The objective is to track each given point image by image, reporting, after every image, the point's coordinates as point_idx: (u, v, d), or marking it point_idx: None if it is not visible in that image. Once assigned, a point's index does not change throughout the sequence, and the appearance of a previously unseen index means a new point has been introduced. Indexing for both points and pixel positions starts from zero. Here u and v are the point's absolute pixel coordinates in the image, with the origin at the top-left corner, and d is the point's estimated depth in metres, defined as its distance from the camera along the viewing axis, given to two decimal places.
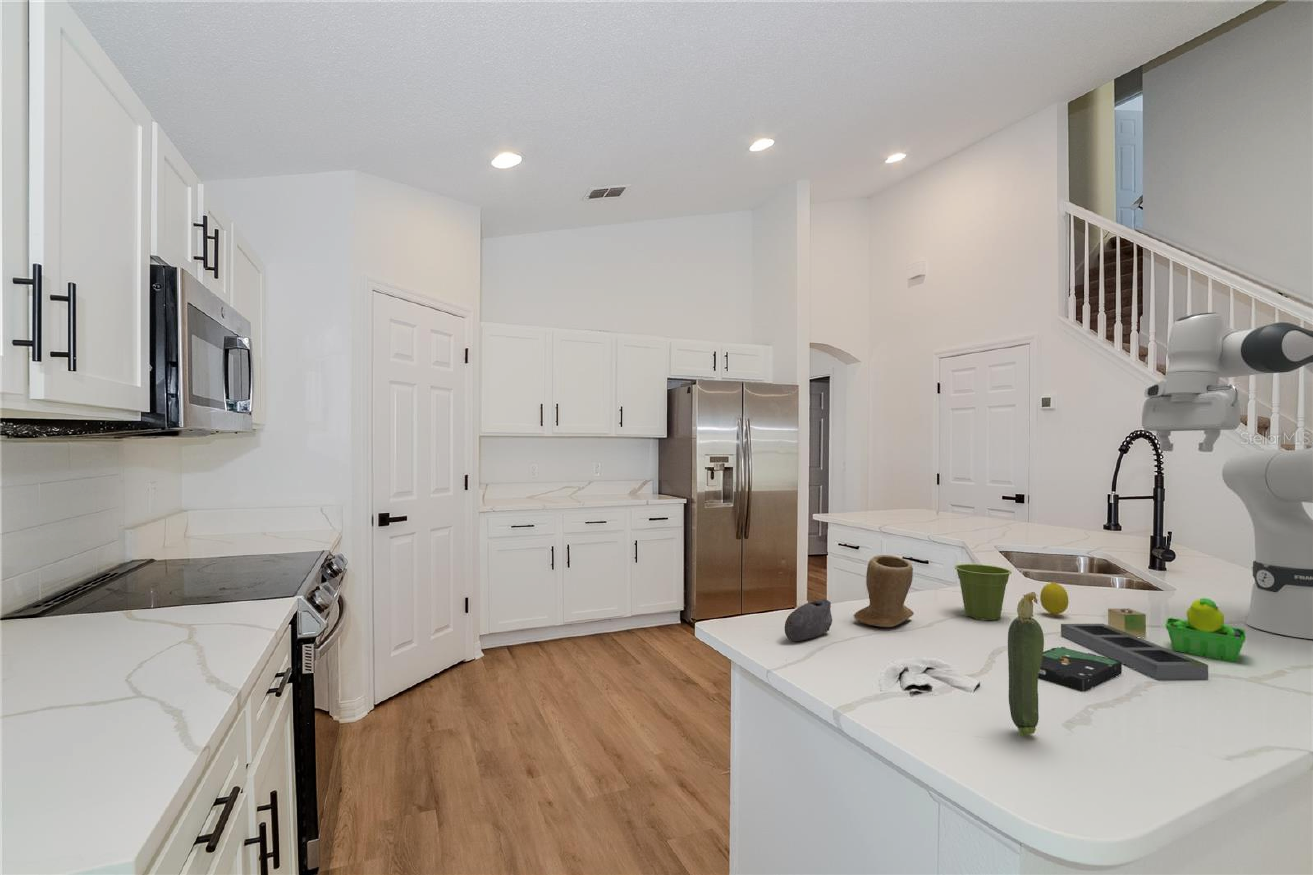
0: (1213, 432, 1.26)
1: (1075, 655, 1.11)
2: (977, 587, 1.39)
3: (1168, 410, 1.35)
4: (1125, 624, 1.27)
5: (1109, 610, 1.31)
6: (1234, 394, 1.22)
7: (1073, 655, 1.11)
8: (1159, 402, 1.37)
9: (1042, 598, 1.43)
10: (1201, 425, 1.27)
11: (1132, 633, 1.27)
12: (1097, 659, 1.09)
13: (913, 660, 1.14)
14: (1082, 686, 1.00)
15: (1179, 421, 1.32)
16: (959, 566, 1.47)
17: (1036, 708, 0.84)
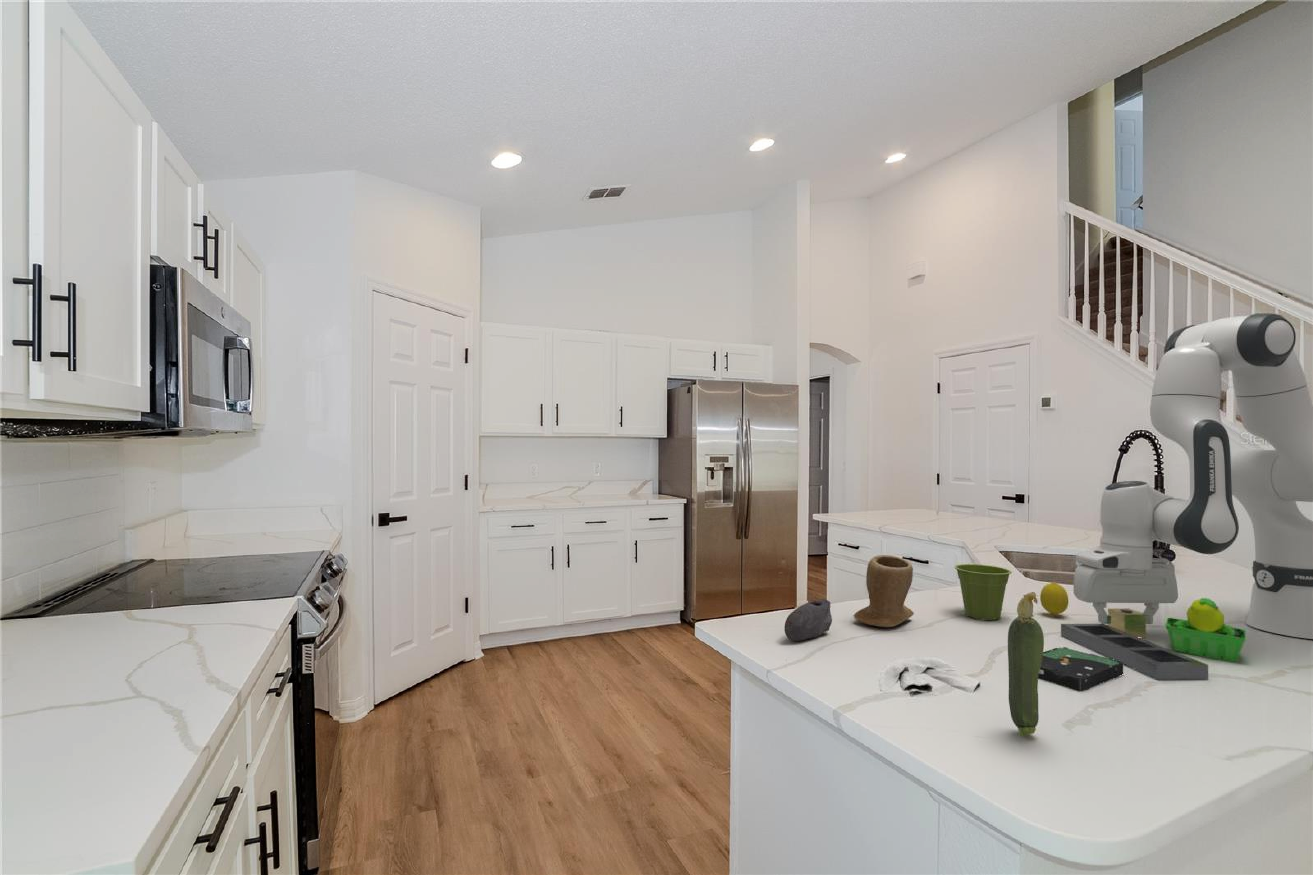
0: None
1: (1076, 656, 1.11)
2: (977, 587, 1.39)
3: (1116, 583, 1.28)
4: (1125, 624, 1.27)
5: (1109, 610, 1.31)
6: (1173, 569, 1.29)
7: (1074, 655, 1.11)
8: (1110, 574, 1.27)
9: (1042, 598, 1.43)
10: (1156, 600, 1.28)
11: (1132, 633, 1.27)
12: (1098, 660, 1.09)
13: (913, 660, 1.14)
14: (1079, 686, 1.00)
15: (1132, 595, 1.28)
16: (959, 566, 1.47)
17: (1036, 708, 0.84)
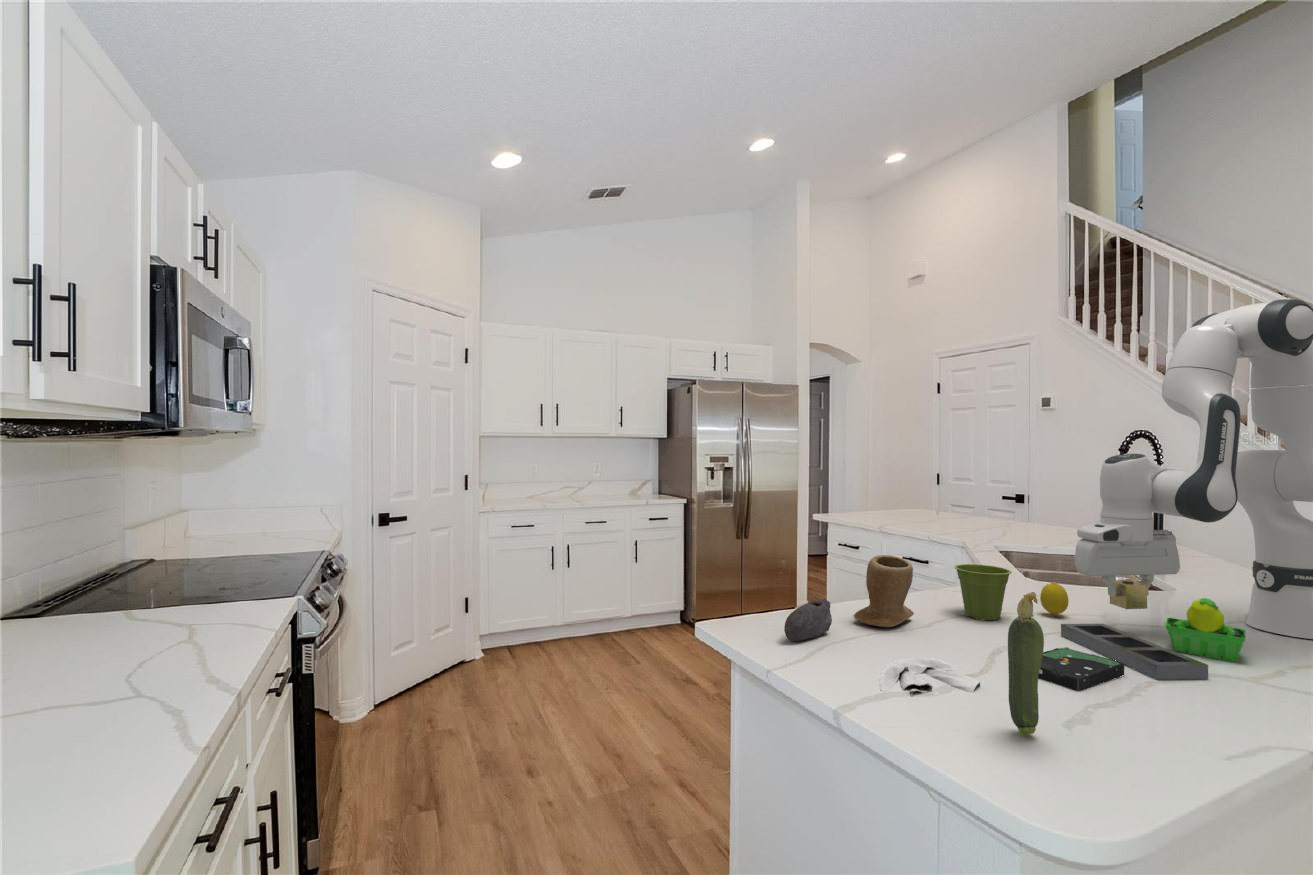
0: None
1: (1077, 656, 1.10)
2: (977, 587, 1.39)
3: (1117, 556, 1.28)
4: (1126, 595, 1.28)
5: None
6: (1175, 540, 1.30)
7: (1075, 656, 1.11)
8: (1111, 547, 1.27)
9: (1042, 598, 1.43)
10: (1158, 572, 1.28)
11: (1133, 604, 1.28)
12: (1099, 660, 1.08)
13: (913, 660, 1.14)
14: (1077, 685, 1.00)
15: (1134, 567, 1.28)
16: (959, 566, 1.47)
17: (1036, 708, 0.84)
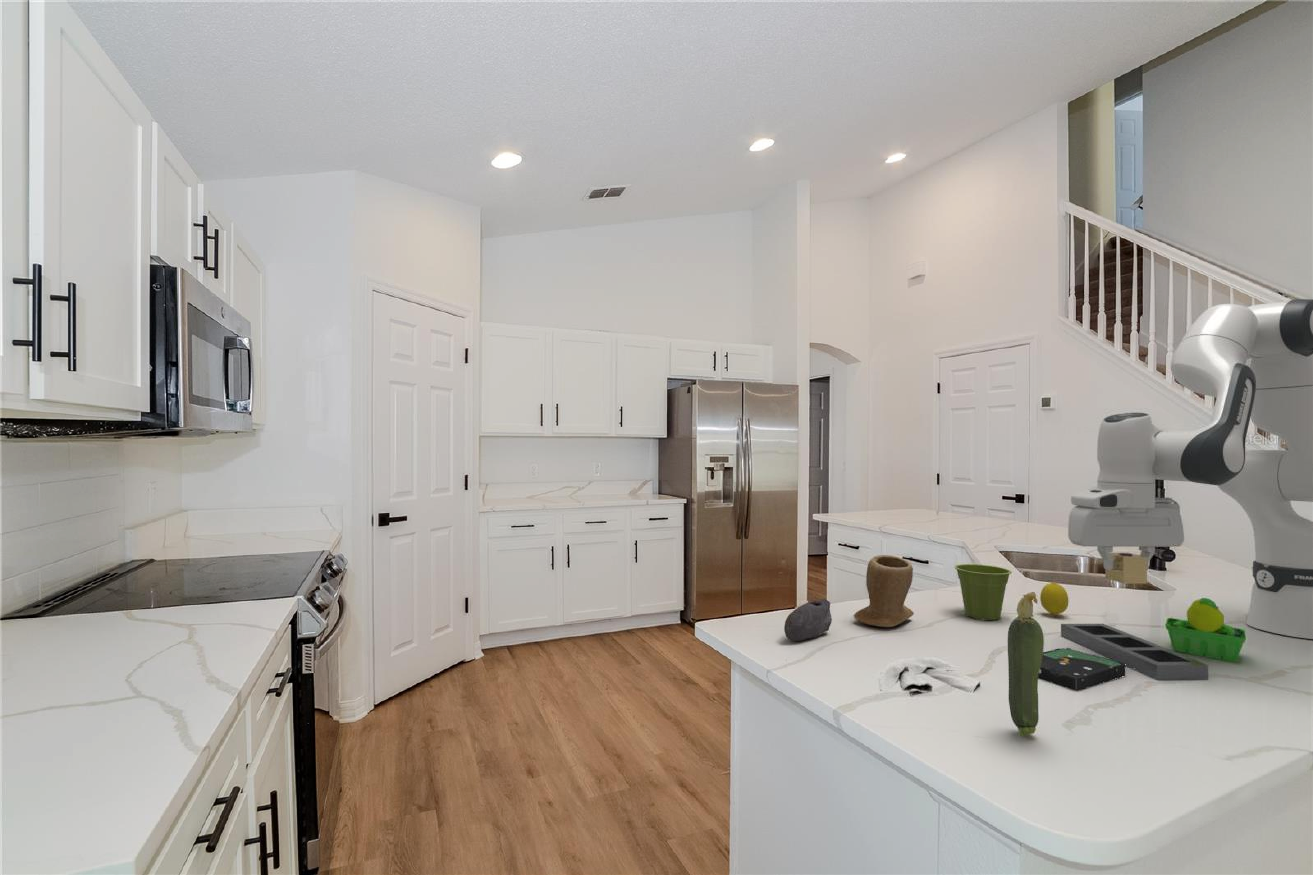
0: None
1: (1078, 656, 1.10)
2: (977, 587, 1.39)
3: (1115, 524, 1.15)
4: (1124, 567, 1.15)
5: None
6: (1179, 509, 1.17)
7: (1075, 656, 1.10)
8: (1108, 514, 1.15)
9: (1042, 598, 1.43)
10: (1160, 543, 1.15)
11: (1132, 577, 1.15)
12: (1100, 660, 1.08)
13: (913, 660, 1.14)
14: (1075, 685, 1.00)
15: (1133, 538, 1.15)
16: (959, 566, 1.47)
17: (1036, 707, 0.84)
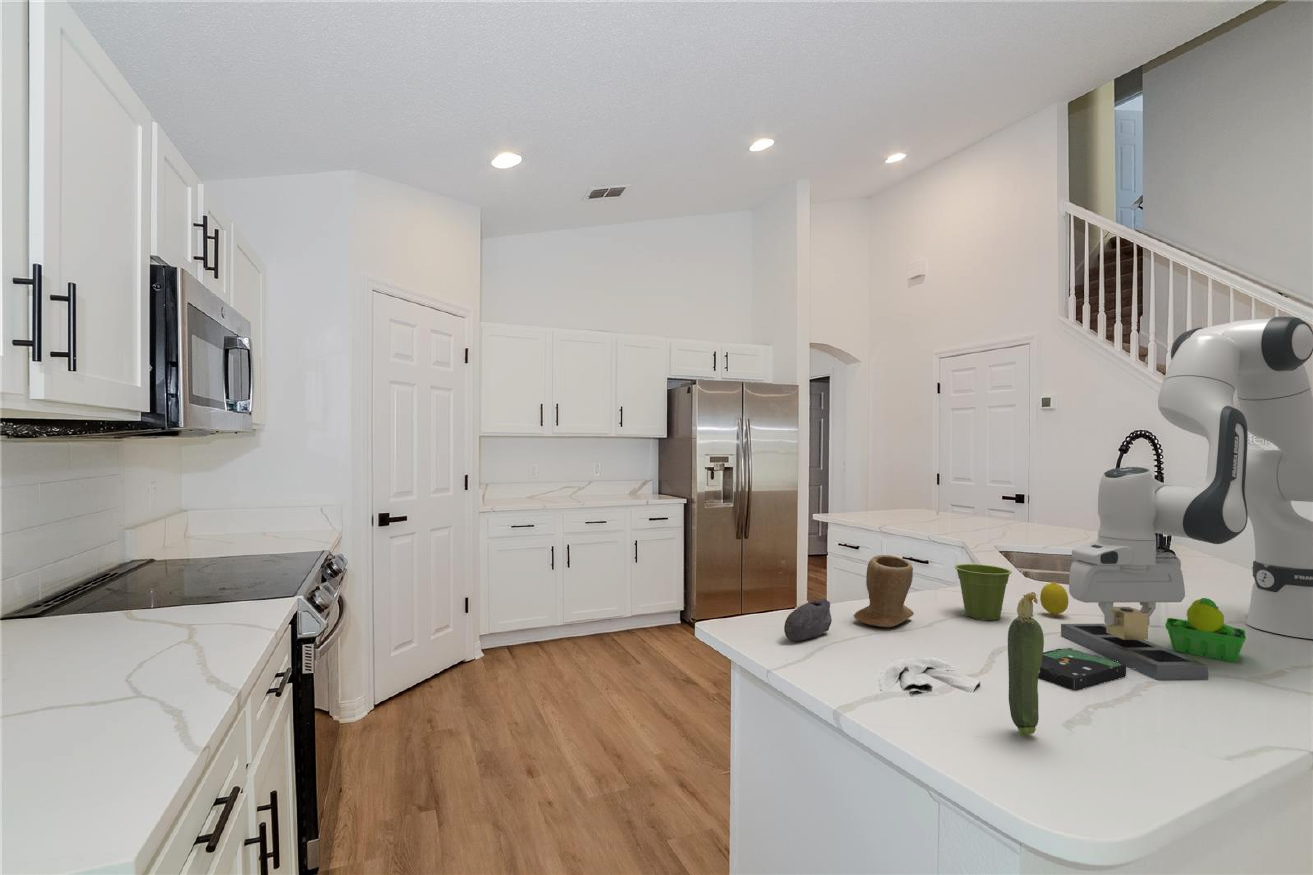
0: None
1: (1078, 656, 1.10)
2: (977, 587, 1.39)
3: (1116, 580, 1.15)
4: (1125, 624, 1.15)
5: None
6: (1180, 564, 1.17)
7: (1076, 656, 1.10)
8: (1109, 571, 1.14)
9: (1042, 598, 1.43)
10: (1161, 599, 1.15)
11: (1133, 634, 1.15)
12: (1100, 661, 1.08)
13: (913, 660, 1.14)
14: (1073, 685, 1.00)
15: (1134, 594, 1.15)
16: (959, 566, 1.47)
17: (1036, 708, 0.84)
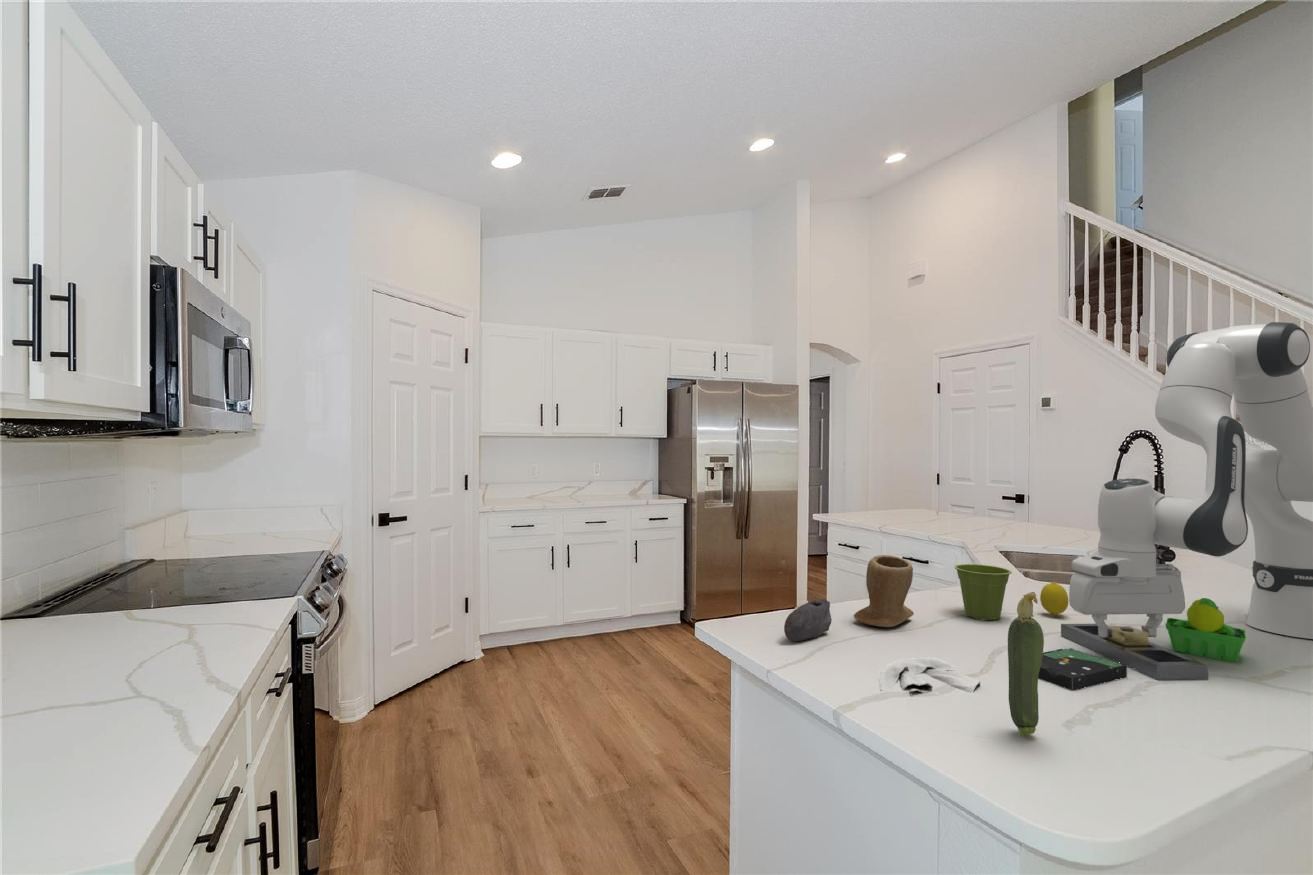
0: None
1: (1079, 657, 1.10)
2: (977, 587, 1.39)
3: (1116, 592, 1.15)
4: (1125, 644, 1.15)
5: None
6: (1180, 576, 1.17)
7: (1077, 656, 1.10)
8: (1109, 583, 1.14)
9: (1042, 598, 1.43)
10: (1161, 611, 1.15)
11: None
12: (1101, 661, 1.08)
13: (913, 660, 1.14)
14: (1072, 684, 1.00)
15: (1134, 605, 1.15)
16: (959, 566, 1.47)
17: (1036, 707, 0.84)
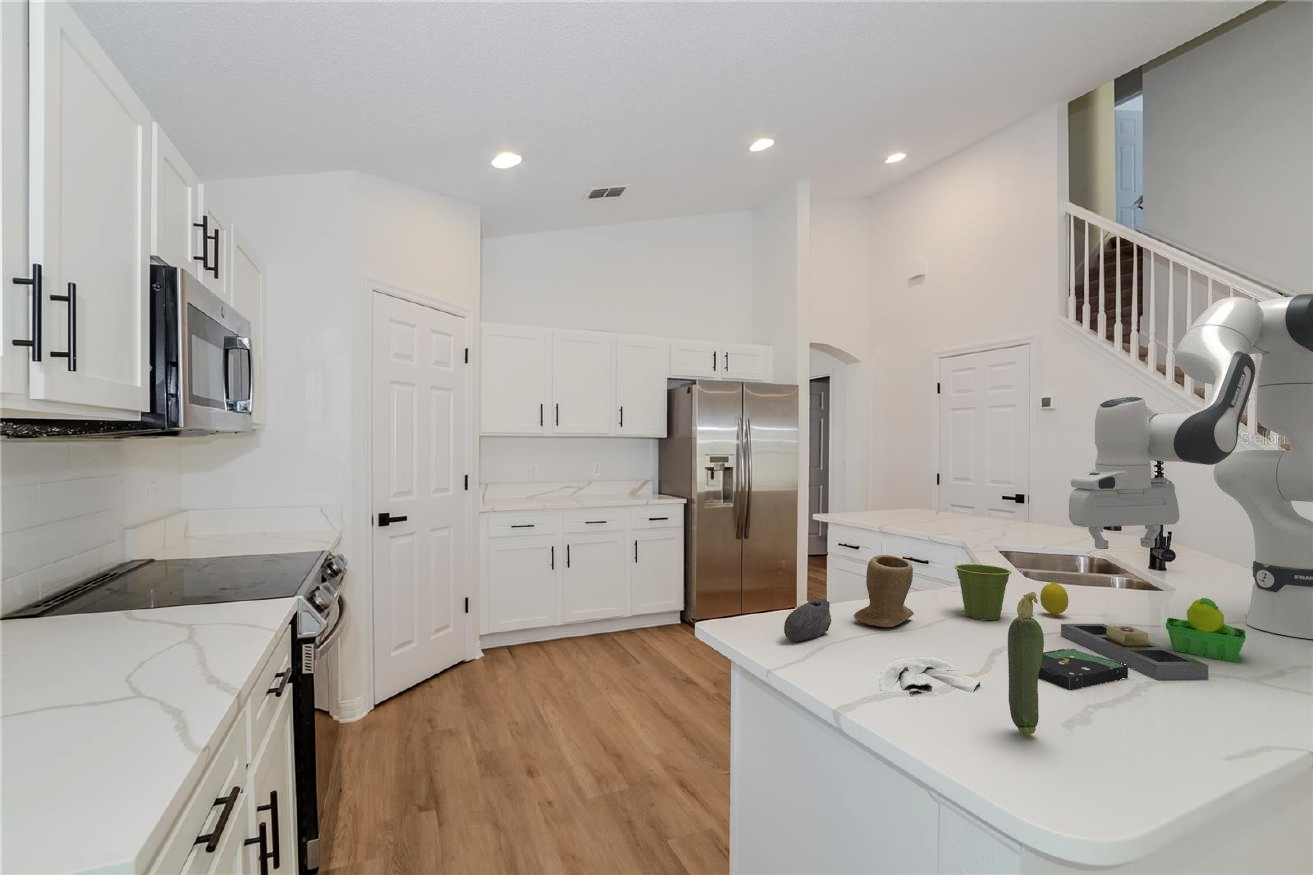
0: None
1: (1080, 657, 1.10)
2: (977, 587, 1.39)
3: (1113, 505, 1.21)
4: (1125, 644, 1.15)
5: (1108, 628, 1.19)
6: (1174, 488, 1.22)
7: (1078, 657, 1.10)
8: (1107, 496, 1.20)
9: (1042, 598, 1.43)
10: (1156, 521, 1.21)
11: None
12: (1102, 662, 1.08)
13: (913, 660, 1.14)
14: (1069, 684, 1.01)
15: (1131, 517, 1.20)
16: (959, 566, 1.47)
17: (1036, 708, 0.84)
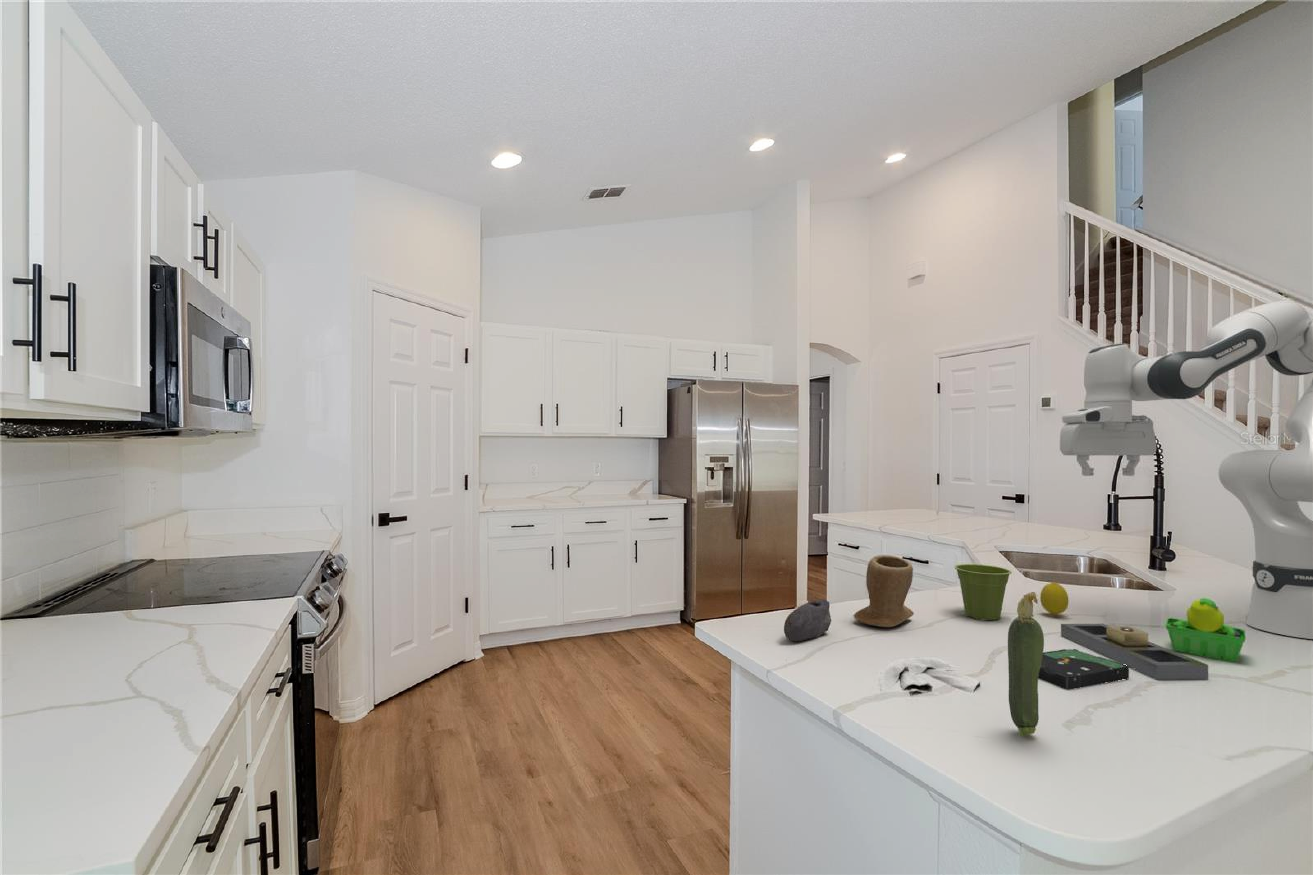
0: None
1: (1081, 657, 1.10)
2: (977, 587, 1.39)
3: (1098, 437, 1.38)
4: (1125, 644, 1.15)
5: (1108, 628, 1.19)
6: (1152, 425, 1.40)
7: (1079, 657, 1.10)
8: (1093, 428, 1.38)
9: (1042, 598, 1.43)
10: (1136, 452, 1.38)
11: None
12: (1103, 662, 1.07)
13: (913, 660, 1.14)
14: (1066, 684, 1.01)
15: (1114, 448, 1.38)
16: (959, 566, 1.47)
17: (1036, 708, 0.84)
